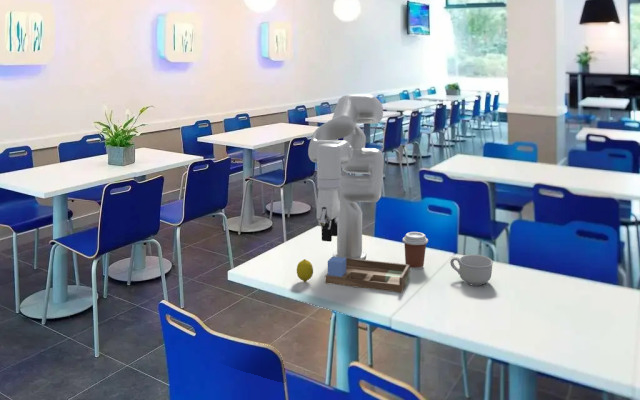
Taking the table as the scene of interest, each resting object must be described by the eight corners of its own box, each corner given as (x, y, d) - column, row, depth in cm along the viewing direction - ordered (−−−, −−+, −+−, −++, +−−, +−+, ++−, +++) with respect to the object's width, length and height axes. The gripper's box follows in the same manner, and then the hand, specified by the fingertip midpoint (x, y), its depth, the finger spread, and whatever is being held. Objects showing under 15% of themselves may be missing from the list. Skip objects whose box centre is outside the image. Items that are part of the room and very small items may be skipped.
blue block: (332, 270, 195) (332, 256, 194) (346, 271, 193) (346, 258, 192) (327, 275, 191) (327, 261, 189) (341, 276, 189) (341, 262, 188)
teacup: (497, 281, 190) (498, 259, 188) (481, 291, 182) (483, 267, 180) (460, 272, 199) (461, 250, 197) (443, 280, 191) (444, 258, 190)
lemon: (311, 285, 189) (310, 262, 187) (295, 284, 190) (294, 261, 188) (314, 279, 194) (314, 257, 192) (299, 278, 195) (298, 256, 193)
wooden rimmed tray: (337, 270, 202) (337, 256, 201) (409, 278, 194) (409, 264, 192) (325, 283, 190) (325, 269, 189) (401, 292, 182) (401, 277, 181)
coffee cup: (432, 267, 204) (433, 235, 201) (414, 272, 199) (415, 240, 196) (414, 260, 211) (415, 229, 209) (396, 265, 206) (397, 233, 204)
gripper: (326, 177, 187) (327, 230, 191) (308, 187, 171) (309, 245, 175) (348, 178, 184) (348, 232, 188) (331, 189, 168) (332, 247, 173)
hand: (329, 237), depth 182 cm, fingers open, 5 cm apart
